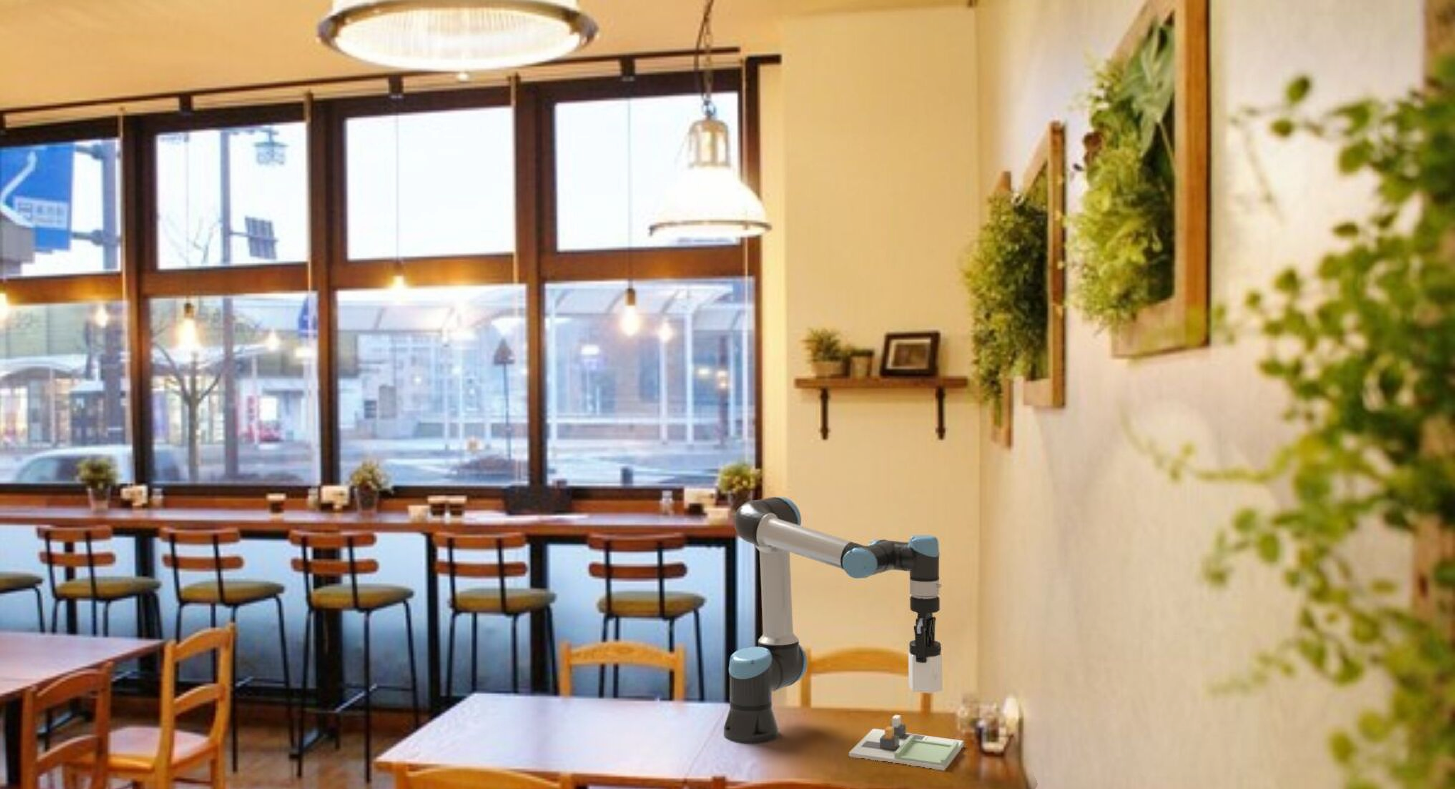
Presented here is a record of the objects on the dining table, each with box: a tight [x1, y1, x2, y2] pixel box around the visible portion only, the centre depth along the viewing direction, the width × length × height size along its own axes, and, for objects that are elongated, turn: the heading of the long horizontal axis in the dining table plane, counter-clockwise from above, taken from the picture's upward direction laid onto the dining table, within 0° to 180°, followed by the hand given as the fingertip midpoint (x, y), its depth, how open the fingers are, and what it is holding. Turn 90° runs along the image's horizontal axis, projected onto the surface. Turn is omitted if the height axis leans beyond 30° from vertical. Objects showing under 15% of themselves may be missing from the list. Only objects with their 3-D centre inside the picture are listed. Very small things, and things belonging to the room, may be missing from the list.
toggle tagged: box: [880, 725, 899, 750], centre depth 283 cm, size 4×4×5 cm
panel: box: [848, 728, 964, 772], centre depth 284 cm, size 25×21×3 cm
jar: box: [907, 639, 943, 694], centre depth 279 cm, size 9×8×12 cm
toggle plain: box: [888, 714, 907, 738], centre depth 293 cm, size 4×4×5 cm
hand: (925, 685), depth 279 cm, fingers closed on jar, 2 cm apart
